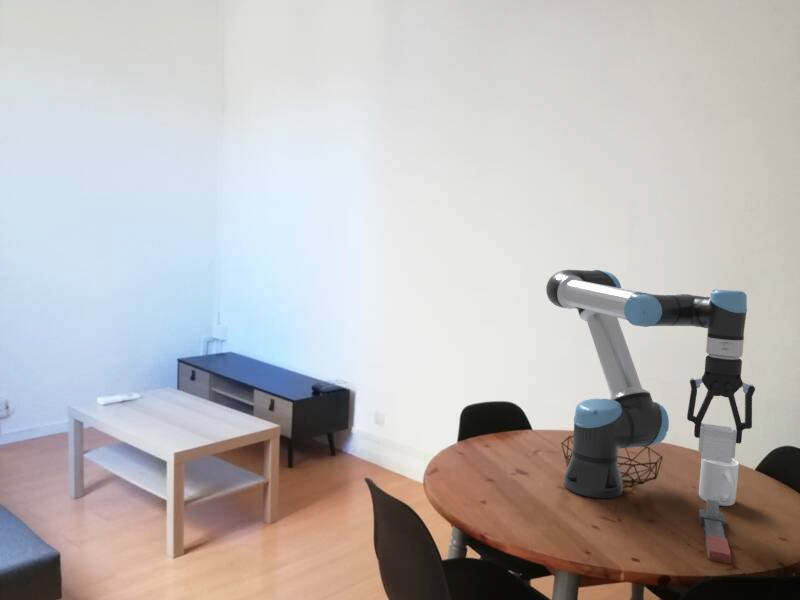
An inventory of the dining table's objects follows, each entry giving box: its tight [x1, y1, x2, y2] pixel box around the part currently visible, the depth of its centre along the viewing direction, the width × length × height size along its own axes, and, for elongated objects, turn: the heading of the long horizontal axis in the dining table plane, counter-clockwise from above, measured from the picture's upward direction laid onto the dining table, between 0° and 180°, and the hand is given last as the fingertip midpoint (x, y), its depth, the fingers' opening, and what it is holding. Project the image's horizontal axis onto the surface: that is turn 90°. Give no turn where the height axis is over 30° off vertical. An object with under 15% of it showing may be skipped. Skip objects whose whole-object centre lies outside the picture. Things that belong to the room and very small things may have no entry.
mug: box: [698, 458, 740, 507], centre depth 158 cm, size 9×12×11 cm
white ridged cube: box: [700, 423, 734, 463], centre depth 144 cm, size 6×6×7 cm
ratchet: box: [698, 496, 732, 565], centre depth 137 cm, size 23×5×6 cm, turn 157°
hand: (716, 453), depth 144 cm, fingers closed on white ridged cube, 6 cm apart
